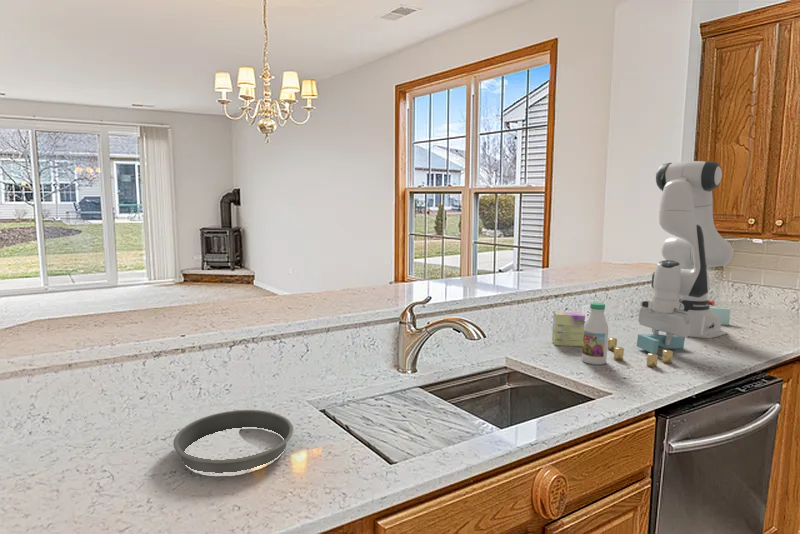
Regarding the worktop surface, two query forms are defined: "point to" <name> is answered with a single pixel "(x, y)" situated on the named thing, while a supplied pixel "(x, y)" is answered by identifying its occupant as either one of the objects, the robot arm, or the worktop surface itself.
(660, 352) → the nut
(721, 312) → the l-shaped corner panel
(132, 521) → the worktop surface
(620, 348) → the brass spacers
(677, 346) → the hook tool
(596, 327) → the milk bottle
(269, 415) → the dark grey ring
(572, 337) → the box
